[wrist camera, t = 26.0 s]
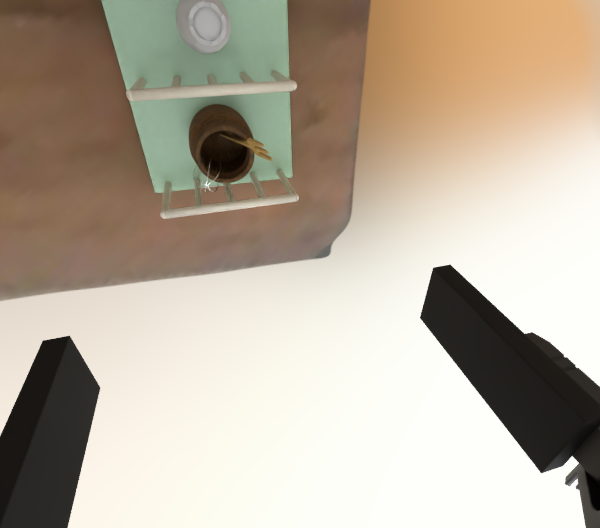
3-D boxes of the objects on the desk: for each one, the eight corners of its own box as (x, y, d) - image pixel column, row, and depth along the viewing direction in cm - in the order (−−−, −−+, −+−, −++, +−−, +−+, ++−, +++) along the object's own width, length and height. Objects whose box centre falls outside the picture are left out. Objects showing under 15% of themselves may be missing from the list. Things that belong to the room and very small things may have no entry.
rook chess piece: (212, 65, 31) (218, 77, 25) (165, 27, 29) (159, 29, 23) (239, 19, 30) (254, 19, 24) (193, -25, 28) (195, -38, 21)
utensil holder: (175, 125, 33) (170, 167, 24) (228, 87, 33) (245, 115, 23) (213, 173, 37) (222, 227, 27) (262, 140, 36) (288, 183, 27)
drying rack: (85, -63, 26) (50, -91, 19) (282, -58, 29) (311, -81, 22) (155, 189, 37) (149, 226, 31) (290, 174, 40) (310, 204, 34)
